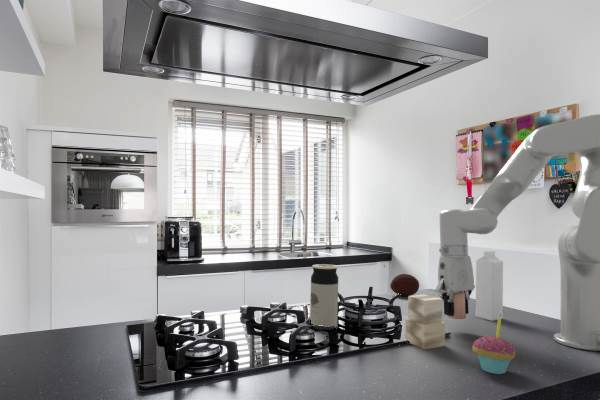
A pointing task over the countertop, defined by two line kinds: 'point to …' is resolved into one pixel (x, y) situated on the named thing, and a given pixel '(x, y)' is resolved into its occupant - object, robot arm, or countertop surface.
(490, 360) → the cupcake
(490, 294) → the milk
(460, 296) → the terracotta cylinder
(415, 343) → the tower base
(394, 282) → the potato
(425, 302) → the tower top
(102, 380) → the countertop surface
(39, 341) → the countertop surface
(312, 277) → the travel mug
